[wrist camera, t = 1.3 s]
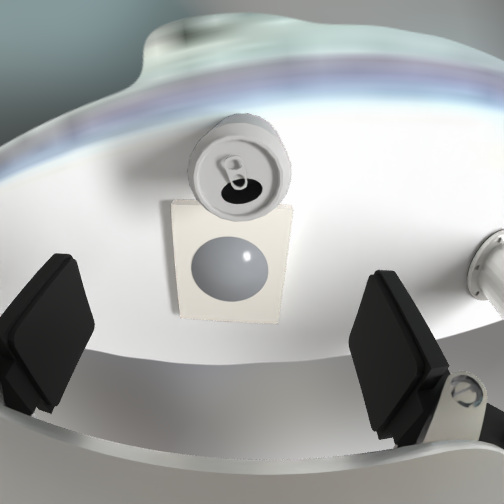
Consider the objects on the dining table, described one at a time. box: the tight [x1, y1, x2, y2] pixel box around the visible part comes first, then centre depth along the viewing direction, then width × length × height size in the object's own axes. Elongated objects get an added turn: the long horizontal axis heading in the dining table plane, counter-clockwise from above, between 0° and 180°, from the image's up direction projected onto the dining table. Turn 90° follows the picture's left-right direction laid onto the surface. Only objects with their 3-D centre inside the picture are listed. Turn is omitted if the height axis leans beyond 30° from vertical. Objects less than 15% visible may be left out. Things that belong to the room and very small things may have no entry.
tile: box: [171, 199, 293, 324], centre depth 37 cm, size 13×16×2 cm
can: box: [188, 113, 291, 222], centre depth 25 cm, size 8×8×12 cm
